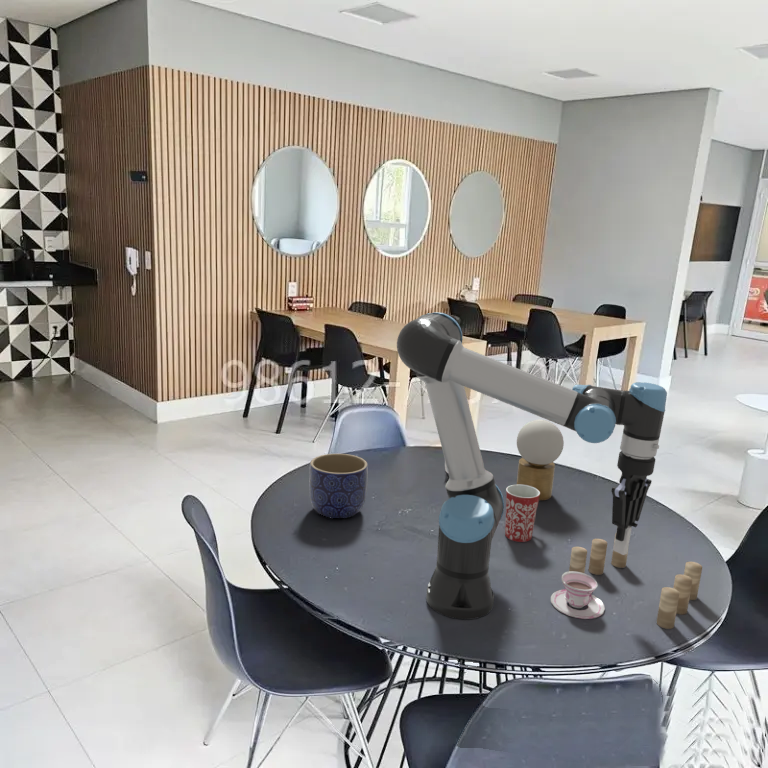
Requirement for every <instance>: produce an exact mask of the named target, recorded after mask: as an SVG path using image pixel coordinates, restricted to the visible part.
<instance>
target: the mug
mask: <svg viewBox="0 0 768 768" xmlns="http://www.w3.org/2000/svg"><path fill="white" fill-rule="evenodd" d="M516 484H517V483H516ZM516 484H512V485H508V486H507V487H506V488H505V493H506V495H505V496H506V497H505V498H506V500H505V523H504V524H505V525H504V530H505V531H504V535H505V537H506V538H507V539H509V540H510V541H513V542H519V543H526V542H529V541H531V540H532V538H533V533H534V526H535V521H536V516H537V515H536V514H537V509H538V505H539V503H540V501H539V495H540V492H539V490H537V489H536V488H534V487H531V486H527V485H520V484H517V485H516Z"/></svg>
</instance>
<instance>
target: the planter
mask: <svg viewBox="0 0 768 768" xmlns="http://www.w3.org/2000/svg"><path fill="white" fill-rule="evenodd" d="M368 467H369V464H368V462H367V461H366V460H365V459H364V458H362V457H360V456H357V455H353V454H349V453H348V454H347V453H326V454H322V455H317V456H315V457H314V458H312V459H311V460H310V463H309V477H308V478H309V479H308V480H309V482H308V487H309V488H308V489H309V500H310V504H311V506H312V508H313V509H314V511H315V512H316V513H317V514H319V515H320V514H321V516H322V515H323V516H322V517H324V516H326V517H325V518H327V517H331V518H330V519H333V518H344V519H348V518H347V517H349V518H351V516H352V517H354V516H356V515H357V514H358V513H359V512H360V511H361V510H362V509H363V507H364V505H365V503H366V499H367V498H366V497H367V489H368V488H367V487H368V475H369V474H368V473H369V472H368V471H369V469H368Z"/></svg>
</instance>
